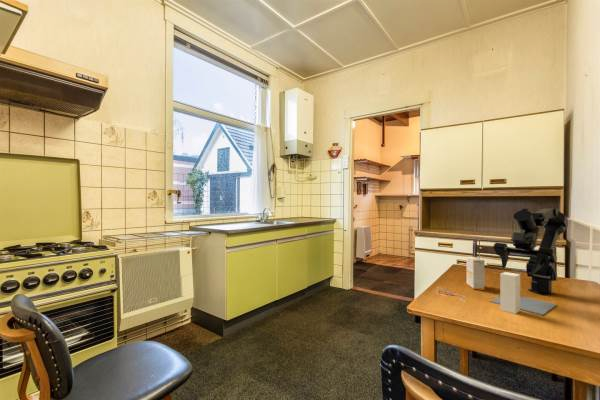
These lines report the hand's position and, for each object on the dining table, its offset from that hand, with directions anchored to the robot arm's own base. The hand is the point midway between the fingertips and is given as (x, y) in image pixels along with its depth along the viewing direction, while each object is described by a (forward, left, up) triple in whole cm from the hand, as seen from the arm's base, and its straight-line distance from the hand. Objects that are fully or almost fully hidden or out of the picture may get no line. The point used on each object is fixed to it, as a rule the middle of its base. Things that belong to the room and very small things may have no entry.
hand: (517, 270), depth 106 cm
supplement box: (-1, -22, -13) cm, 26 cm away
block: (+7, +4, -13) cm, 15 cm away
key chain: (+17, -13, -14) cm, 25 cm away
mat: (-3, -1, -13) cm, 14 cm away
